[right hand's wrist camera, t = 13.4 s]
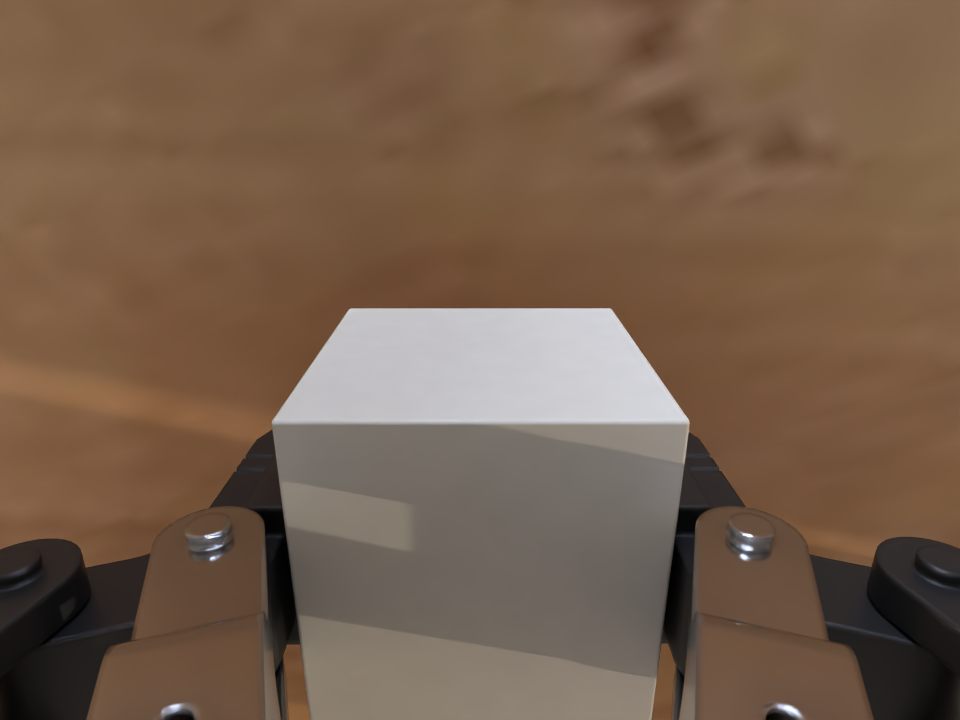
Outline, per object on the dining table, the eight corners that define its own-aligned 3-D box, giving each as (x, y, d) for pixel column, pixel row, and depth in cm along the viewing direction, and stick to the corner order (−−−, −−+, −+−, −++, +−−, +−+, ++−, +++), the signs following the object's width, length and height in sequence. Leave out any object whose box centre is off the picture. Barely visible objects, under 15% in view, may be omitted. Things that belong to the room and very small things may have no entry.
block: (365, 528, 13) (309, 729, 9) (348, 307, 11) (268, 420, 7) (595, 529, 13) (651, 728, 9) (612, 307, 11) (692, 421, 7)
